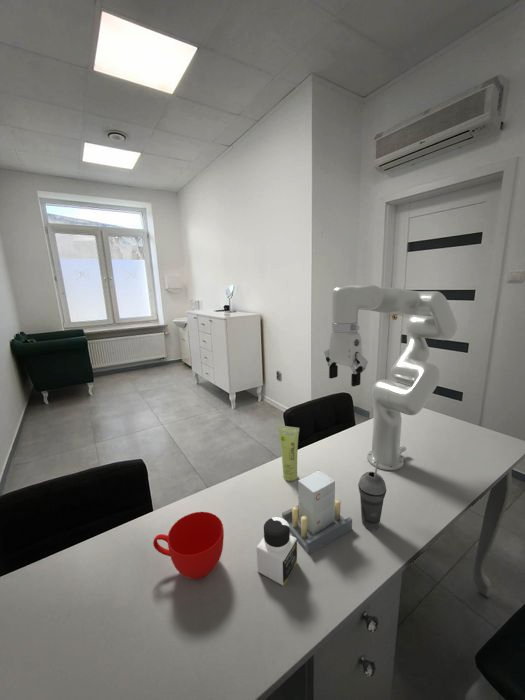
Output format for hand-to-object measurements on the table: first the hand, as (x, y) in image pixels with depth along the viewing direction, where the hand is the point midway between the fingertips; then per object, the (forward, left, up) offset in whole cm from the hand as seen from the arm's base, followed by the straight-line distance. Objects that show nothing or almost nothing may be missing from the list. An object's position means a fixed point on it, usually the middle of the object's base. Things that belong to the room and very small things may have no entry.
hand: (344, 381), depth 95 cm
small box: (+20, +11, -35) cm, 41 cm away
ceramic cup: (+54, +5, -36) cm, 65 cm away
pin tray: (+20, +11, -36) cm, 42 cm away
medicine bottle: (+36, +16, -36) cm, 53 cm away
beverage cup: (+6, +18, -36) cm, 41 cm away
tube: (+14, -11, -36) cm, 40 cm away
